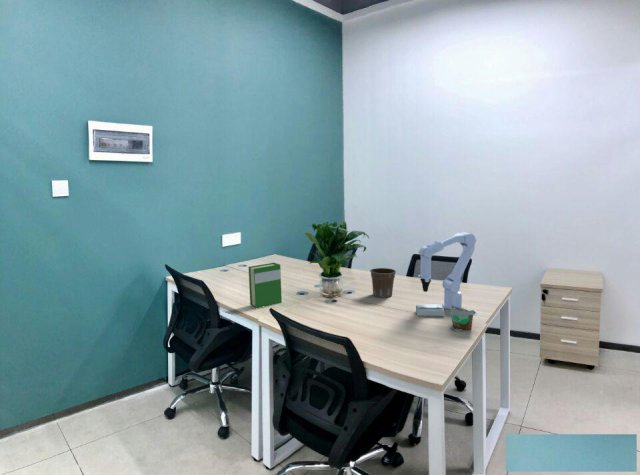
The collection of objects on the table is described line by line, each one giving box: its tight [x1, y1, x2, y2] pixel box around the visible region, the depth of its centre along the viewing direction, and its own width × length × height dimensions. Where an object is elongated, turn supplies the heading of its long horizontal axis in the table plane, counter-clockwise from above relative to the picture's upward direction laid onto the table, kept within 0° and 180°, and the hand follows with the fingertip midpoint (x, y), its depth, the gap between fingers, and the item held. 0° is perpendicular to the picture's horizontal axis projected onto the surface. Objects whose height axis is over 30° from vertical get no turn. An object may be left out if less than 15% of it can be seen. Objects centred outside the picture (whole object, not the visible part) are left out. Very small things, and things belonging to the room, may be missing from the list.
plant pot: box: [369, 267, 397, 298], centre depth 262 cm, size 16×16×16 cm
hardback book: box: [248, 262, 282, 309], centre depth 248 cm, size 18×7×24 cm, turn 127°
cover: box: [416, 303, 444, 309], centre depth 226 cm, size 13×7×1 cm, turn 83°
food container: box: [449, 305, 475, 331], centre depth 203 cm, size 12×6×10 cm, turn 40°
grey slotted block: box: [415, 304, 445, 317], centre depth 226 cm, size 14×8×4 cm, turn 83°
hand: (425, 291), depth 233 cm, fingers closed
